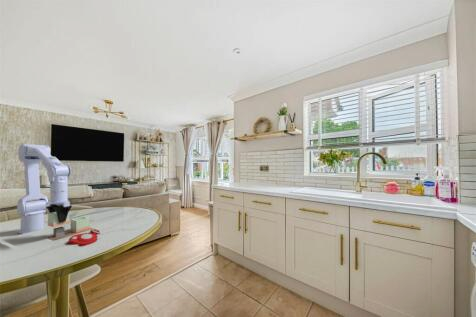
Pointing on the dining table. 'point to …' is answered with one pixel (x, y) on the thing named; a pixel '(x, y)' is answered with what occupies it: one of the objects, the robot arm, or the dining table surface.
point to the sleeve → (56, 220)
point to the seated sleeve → (80, 224)
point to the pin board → (67, 233)
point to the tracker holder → (85, 238)
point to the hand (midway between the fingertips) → (59, 221)
